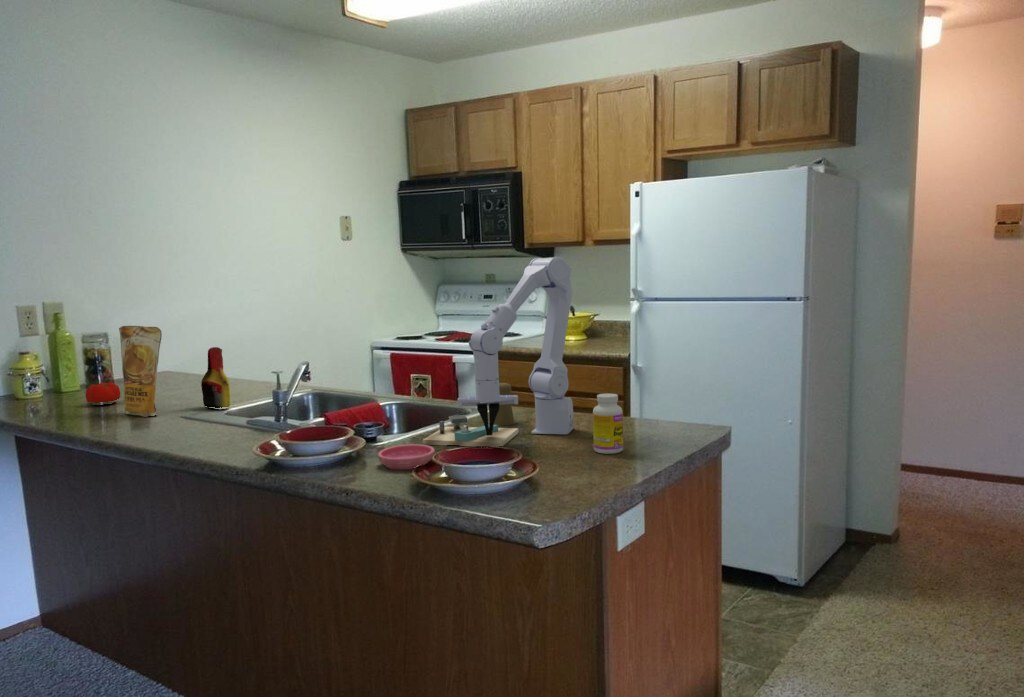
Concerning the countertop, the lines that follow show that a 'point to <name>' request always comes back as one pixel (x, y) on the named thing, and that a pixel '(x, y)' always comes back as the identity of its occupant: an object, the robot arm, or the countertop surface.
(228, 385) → the bottle
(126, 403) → the pancake mix bag
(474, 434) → the link
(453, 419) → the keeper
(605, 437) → the supplement bottle
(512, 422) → the cork
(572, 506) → the countertop surface
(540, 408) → the robot arm
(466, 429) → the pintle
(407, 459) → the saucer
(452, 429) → the base board
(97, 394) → the tomato
